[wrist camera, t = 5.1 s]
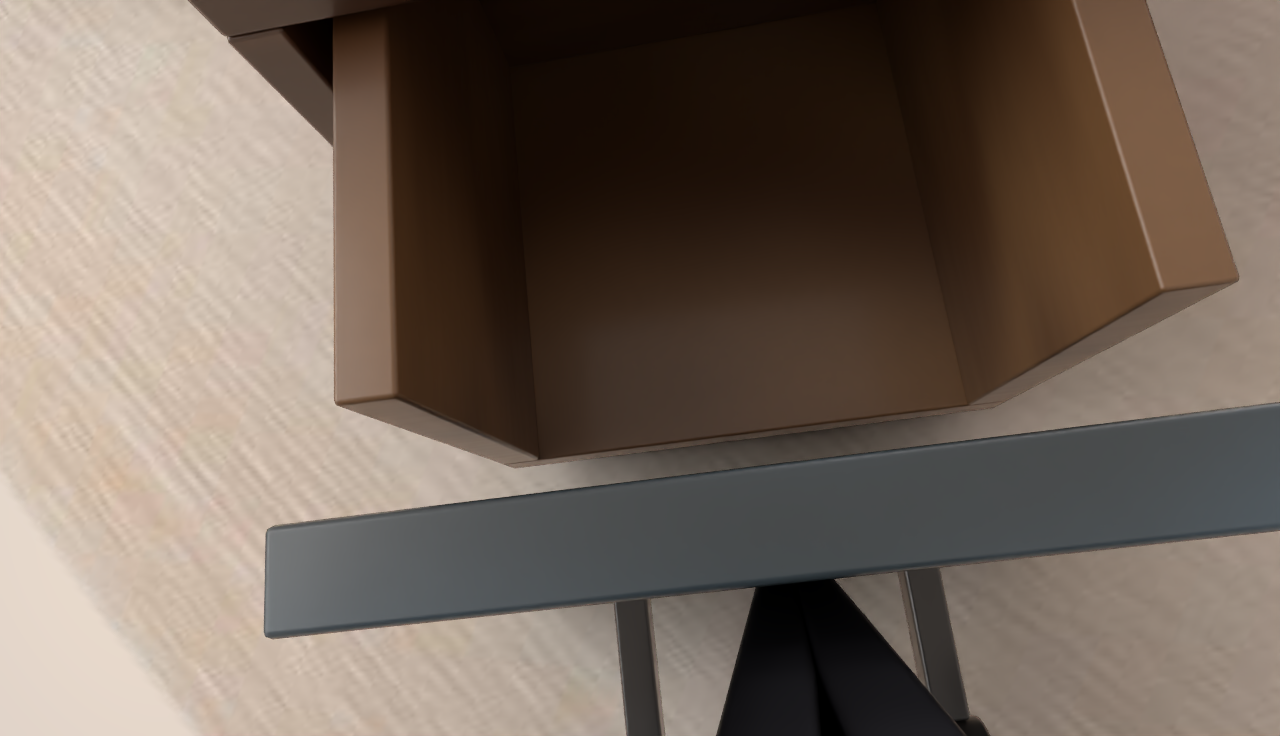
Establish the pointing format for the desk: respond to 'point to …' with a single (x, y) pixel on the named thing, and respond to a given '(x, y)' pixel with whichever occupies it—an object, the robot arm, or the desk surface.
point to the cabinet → (290, 45)
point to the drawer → (757, 301)
